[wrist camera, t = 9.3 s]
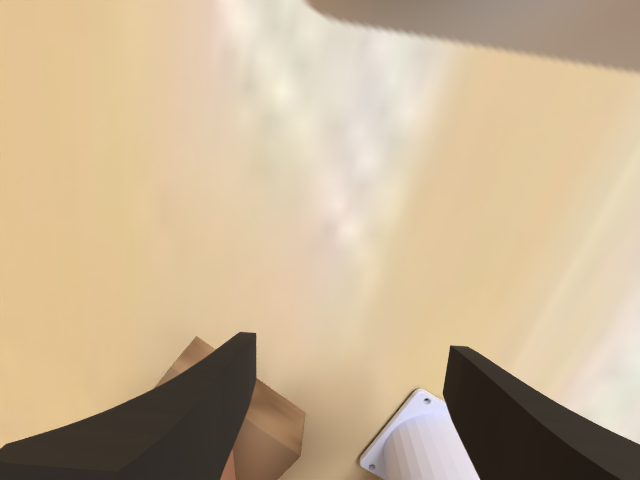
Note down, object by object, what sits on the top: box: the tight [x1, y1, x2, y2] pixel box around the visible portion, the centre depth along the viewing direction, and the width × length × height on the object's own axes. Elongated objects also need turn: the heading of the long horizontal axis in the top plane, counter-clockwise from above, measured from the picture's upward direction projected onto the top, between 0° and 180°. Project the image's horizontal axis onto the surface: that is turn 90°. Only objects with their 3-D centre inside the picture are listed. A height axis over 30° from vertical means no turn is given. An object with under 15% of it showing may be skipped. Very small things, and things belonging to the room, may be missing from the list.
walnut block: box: [155, 336, 305, 480], centre depth 22 cm, size 10×10×4 cm
